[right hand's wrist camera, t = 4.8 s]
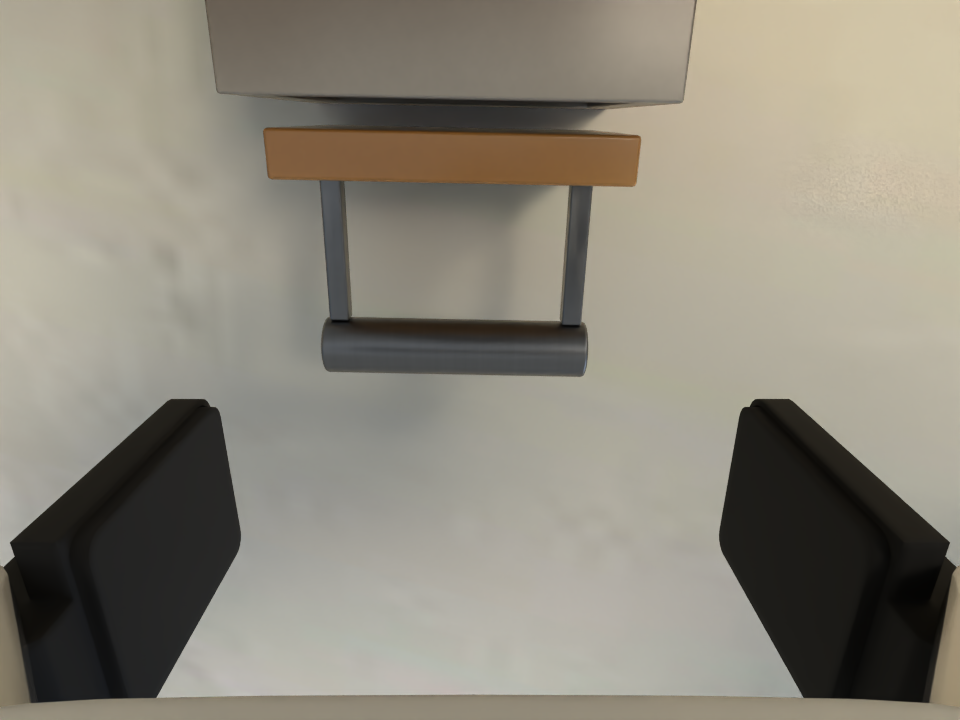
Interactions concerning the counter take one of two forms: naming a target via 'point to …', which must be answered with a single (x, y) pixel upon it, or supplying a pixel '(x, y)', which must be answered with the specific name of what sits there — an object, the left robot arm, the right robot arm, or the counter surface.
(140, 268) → the counter surface
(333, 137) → the drawer
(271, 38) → the grey boxy block
